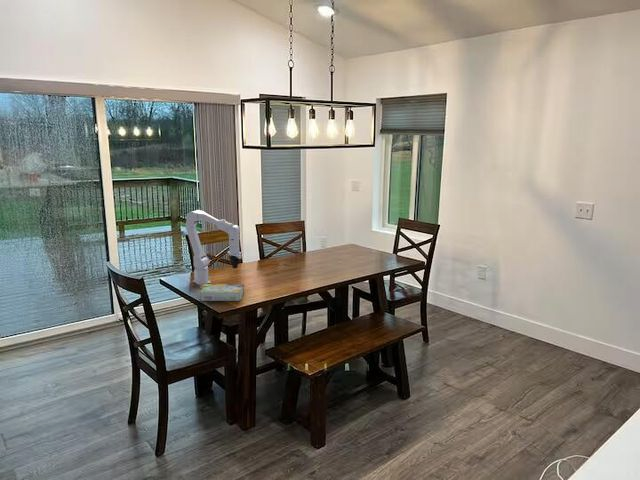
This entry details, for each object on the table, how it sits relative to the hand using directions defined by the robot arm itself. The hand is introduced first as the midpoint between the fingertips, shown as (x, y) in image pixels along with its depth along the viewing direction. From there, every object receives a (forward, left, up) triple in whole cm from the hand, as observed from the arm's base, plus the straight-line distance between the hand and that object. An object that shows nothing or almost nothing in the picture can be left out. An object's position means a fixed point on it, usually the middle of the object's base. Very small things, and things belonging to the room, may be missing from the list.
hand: (234, 268), depth 274 cm
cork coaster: (-6, -15, -10) cm, 19 cm away
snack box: (+10, -12, -7) cm, 17 cm away
